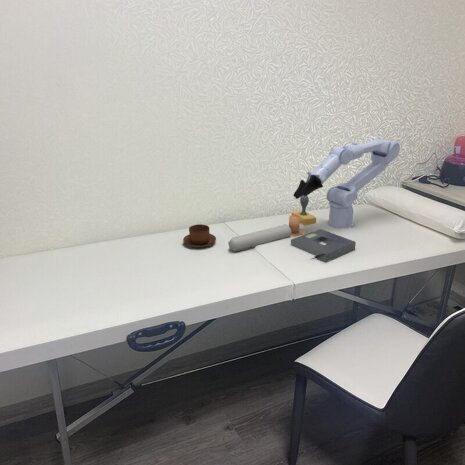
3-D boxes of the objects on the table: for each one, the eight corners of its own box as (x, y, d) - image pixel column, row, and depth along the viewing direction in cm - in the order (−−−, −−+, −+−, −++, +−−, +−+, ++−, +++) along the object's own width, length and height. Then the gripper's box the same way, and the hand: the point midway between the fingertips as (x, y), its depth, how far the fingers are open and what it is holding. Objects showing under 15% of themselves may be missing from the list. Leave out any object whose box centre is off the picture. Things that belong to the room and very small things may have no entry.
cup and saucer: (177, 246, 158) (176, 230, 155) (194, 235, 168) (194, 220, 165) (205, 252, 152) (204, 236, 150) (221, 240, 162) (221, 225, 160)
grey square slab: (319, 236, 165) (320, 228, 164) (354, 249, 154) (355, 241, 153) (290, 247, 156) (290, 239, 155) (325, 262, 144) (326, 253, 143)
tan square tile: (293, 228, 173) (293, 226, 172) (308, 234, 167) (308, 232, 167) (278, 233, 168) (279, 231, 168) (294, 239, 162) (294, 237, 162)
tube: (232, 256, 152) (289, 240, 163) (234, 244, 148) (292, 229, 160) (225, 246, 155) (281, 232, 167) (227, 235, 152) (284, 221, 163)
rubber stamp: (290, 220, 182) (292, 192, 177) (302, 218, 184) (303, 190, 180) (304, 227, 174) (306, 199, 169) (316, 225, 176) (318, 197, 171)
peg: (293, 228, 170) (294, 214, 167) (301, 231, 167) (302, 217, 165) (286, 231, 167) (287, 216, 165) (294, 234, 165) (294, 219, 162)
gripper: (309, 167, 167) (284, 190, 164) (325, 159, 153) (299, 184, 150) (320, 180, 168) (297, 204, 165) (338, 174, 154) (312, 199, 151)
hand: (299, 195), depth 158 cm, fingers open, 7 cm apart
